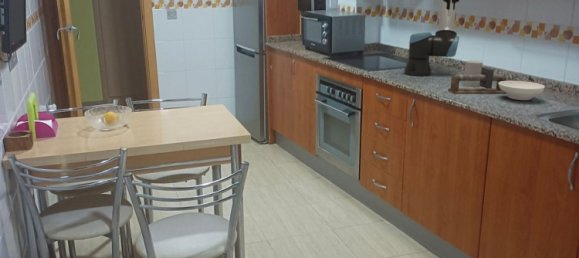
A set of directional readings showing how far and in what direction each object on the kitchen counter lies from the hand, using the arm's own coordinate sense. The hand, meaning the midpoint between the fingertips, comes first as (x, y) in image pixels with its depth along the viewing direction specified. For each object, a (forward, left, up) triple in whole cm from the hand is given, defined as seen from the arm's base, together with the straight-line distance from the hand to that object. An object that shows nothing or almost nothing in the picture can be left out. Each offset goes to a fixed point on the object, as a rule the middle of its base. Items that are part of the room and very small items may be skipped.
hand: (449, 16), depth 271 cm
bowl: (+37, +22, -35) cm, 55 cm away
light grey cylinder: (+3, +14, -35) cm, 37 cm away
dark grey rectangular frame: (+21, +13, -32) cm, 40 cm away
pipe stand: (+21, +9, -34) cm, 41 cm away
